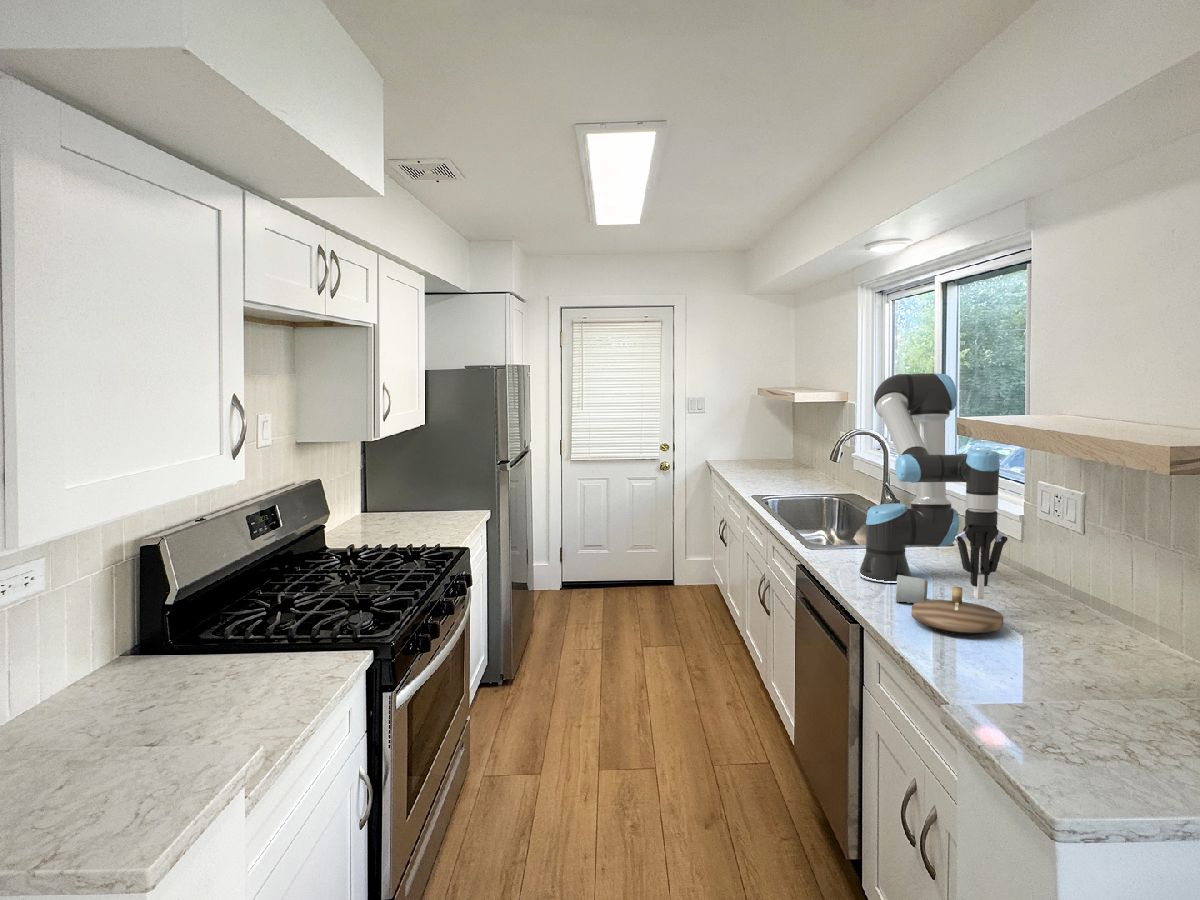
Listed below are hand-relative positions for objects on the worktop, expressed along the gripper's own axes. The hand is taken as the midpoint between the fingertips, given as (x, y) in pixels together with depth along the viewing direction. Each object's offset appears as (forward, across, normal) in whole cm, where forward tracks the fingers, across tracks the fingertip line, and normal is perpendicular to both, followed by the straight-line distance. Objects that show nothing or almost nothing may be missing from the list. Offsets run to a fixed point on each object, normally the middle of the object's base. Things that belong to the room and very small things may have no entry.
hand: (978, 597), depth 196 cm
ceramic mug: (+5, +13, -13) cm, 19 cm away
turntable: (+3, +9, +8) cm, 13 cm away
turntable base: (+5, +9, +8) cm, 13 cm away
